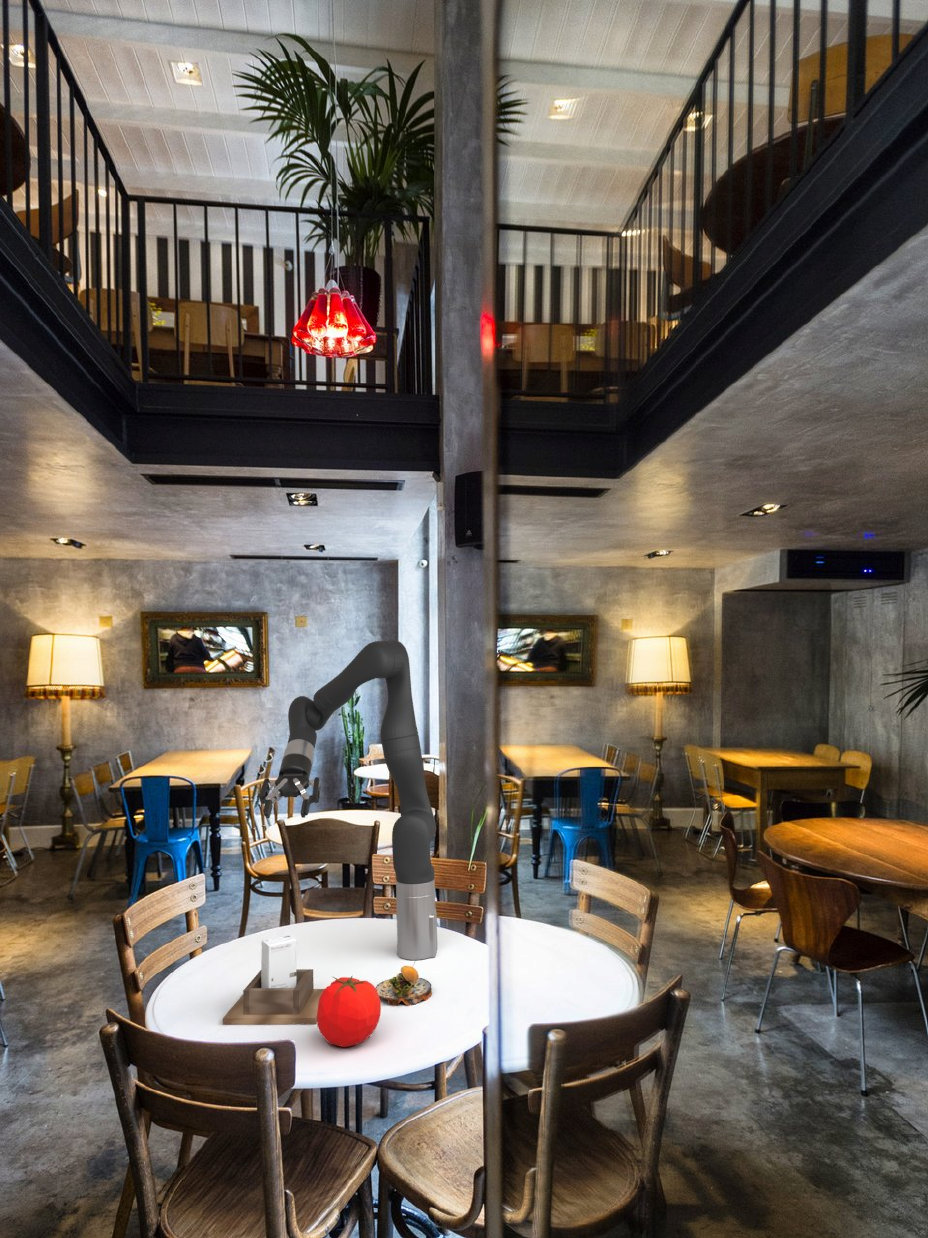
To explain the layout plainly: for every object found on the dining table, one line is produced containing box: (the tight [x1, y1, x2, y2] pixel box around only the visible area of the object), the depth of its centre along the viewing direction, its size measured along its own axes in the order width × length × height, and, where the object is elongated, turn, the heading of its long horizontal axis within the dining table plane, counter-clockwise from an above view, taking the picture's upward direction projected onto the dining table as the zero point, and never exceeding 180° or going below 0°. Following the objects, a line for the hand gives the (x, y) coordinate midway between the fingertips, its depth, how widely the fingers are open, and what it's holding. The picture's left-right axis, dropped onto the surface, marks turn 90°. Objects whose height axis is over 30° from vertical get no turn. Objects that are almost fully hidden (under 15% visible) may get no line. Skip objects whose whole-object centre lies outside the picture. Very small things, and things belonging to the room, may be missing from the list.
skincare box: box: [260, 935, 297, 988], centre depth 157 cm, size 6×4×12 cm
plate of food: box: [375, 960, 433, 1007], centre depth 162 cm, size 12×12×8 cm
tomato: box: [316, 975, 382, 1048], centre depth 141 cm, size 12×12×11 cm
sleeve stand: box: [222, 968, 325, 1026], centre depth 156 cm, size 18×14×6 cm
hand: (284, 816), depth 184 cm, fingers open, 8 cm apart
